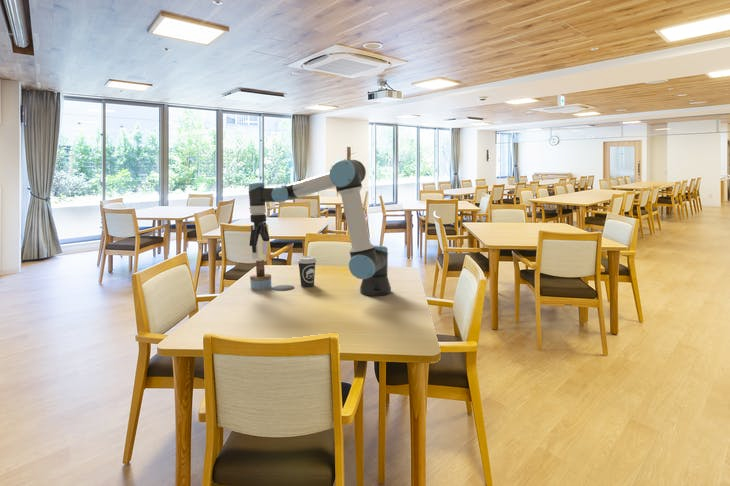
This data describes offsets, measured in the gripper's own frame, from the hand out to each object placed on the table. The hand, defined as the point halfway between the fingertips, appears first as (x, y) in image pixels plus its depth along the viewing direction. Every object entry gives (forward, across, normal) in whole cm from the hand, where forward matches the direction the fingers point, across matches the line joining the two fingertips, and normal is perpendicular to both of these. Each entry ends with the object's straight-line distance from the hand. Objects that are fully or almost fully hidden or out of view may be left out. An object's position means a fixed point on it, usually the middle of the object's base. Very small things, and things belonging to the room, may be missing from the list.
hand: (260, 256), depth 235 cm
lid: (+11, 0, -1) cm, 11 cm away
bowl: (+16, 0, -1) cm, 16 cm away
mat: (+17, 0, +11) cm, 20 cm away
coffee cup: (+17, -7, +22) cm, 28 cm away
